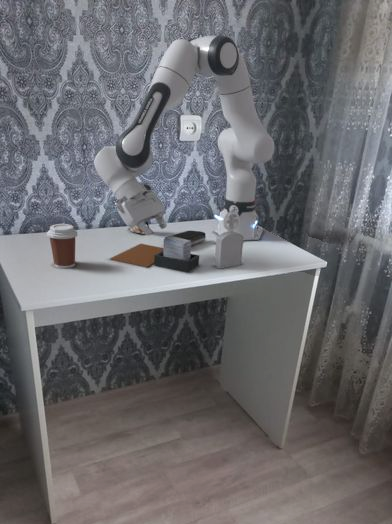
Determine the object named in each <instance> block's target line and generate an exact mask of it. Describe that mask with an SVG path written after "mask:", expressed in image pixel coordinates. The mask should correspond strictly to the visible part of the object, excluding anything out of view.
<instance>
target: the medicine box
mask: <svg viewBox="0 0 392 524" xmlns="http://www.w3.org/2000/svg"><path fill="white" fill-rule="evenodd" d="M170 236H171V237H168V236H166V237H167V238H165V237H164V238H163V248H164V256H165V257H170V258H175V259H179V260H184V261H189V260H190V256H191V254H192V245H191V241H190V240H186V239H182V238H178V237H173V236H172V235H170Z"/></svg>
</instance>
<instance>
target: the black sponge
mask: <svg viewBox="0 0 392 524" xmlns="http://www.w3.org/2000/svg"><path fill="white" fill-rule="evenodd" d="M171 236H173V237H178V238H182V239H186V240H190V241H191V246H192V245H196V244H199V243H201V242H204V241H205V240H206V238H207V237H206V236H207V235H206V232H204V231H199V230H198V231H197V230H185V231H182V232H179V233H176V234H172V235H168V236H165V237H164V239H165V238H167V237H171Z"/></svg>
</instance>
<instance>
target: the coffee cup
mask: <svg viewBox="0 0 392 524" xmlns="http://www.w3.org/2000/svg"><path fill="white" fill-rule="evenodd" d="M46 236H47V237H49V242H50V249H51V253H52V259H53V266H54V267H56V268H57V269H58V268H59V269H69V268H73V267H74V266H76V237H78V231H77V230H76V229H75V227H74V226H73V225H72V224H69V223H55V224H51V225H50V226H49V230H48V231H47V232H46Z"/></svg>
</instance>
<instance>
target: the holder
mask: <svg viewBox="0 0 392 524" xmlns="http://www.w3.org/2000/svg"><path fill="white" fill-rule="evenodd" d="M153 266H154V267H158V268H164V269H168V270H173V271H177V272H183V273H187V274H189V273H190V272H192V271H193V270H194V269H197V267H199V266H200V254H194V253H191V256H190V260H189V261H184V260H179V259H175V258H170V257H165V256H164V250H163V251H161V252H159V253H158V254H156V255H154V264H153Z"/></svg>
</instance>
